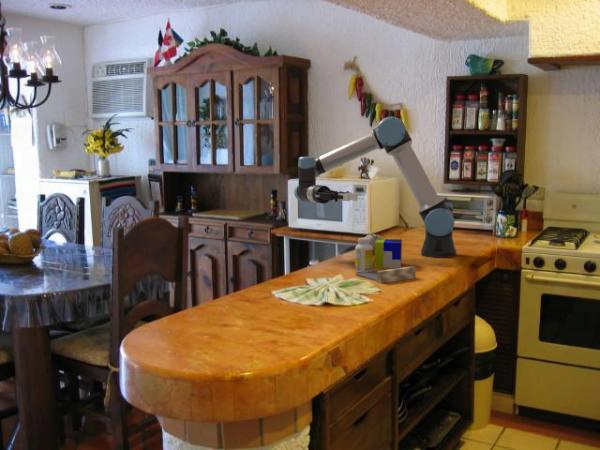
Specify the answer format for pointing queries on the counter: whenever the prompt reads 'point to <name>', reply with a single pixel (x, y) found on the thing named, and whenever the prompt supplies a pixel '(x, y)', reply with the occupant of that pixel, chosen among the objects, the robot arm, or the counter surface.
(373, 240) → the decorative fruit
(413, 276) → the backstop rail
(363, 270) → the supplement bottle
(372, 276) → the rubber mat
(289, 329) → the counter surface
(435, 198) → the robot arm
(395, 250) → the puzzle toy
